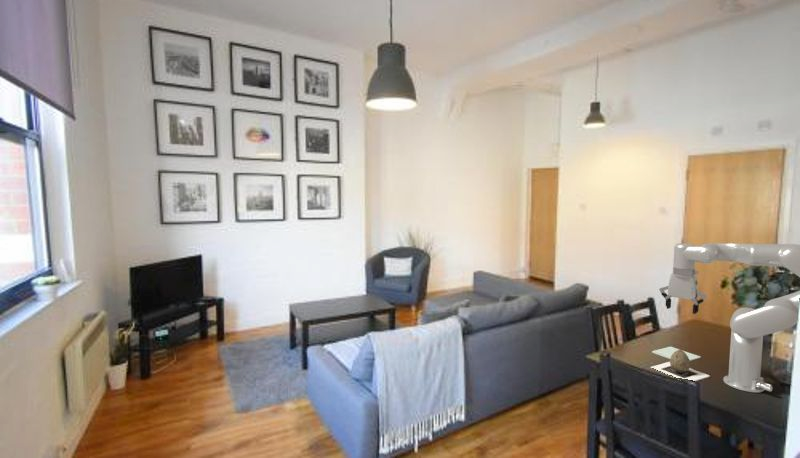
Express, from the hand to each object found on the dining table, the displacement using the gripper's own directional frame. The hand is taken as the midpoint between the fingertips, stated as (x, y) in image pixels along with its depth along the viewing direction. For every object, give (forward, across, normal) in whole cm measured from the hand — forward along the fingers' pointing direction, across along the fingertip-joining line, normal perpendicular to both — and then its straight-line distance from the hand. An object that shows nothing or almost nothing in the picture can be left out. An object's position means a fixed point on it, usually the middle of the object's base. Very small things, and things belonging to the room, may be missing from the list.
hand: (681, 310), depth 171 cm
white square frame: (+27, -1, +3) cm, 27 cm away
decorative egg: (+27, -1, +3) cm, 27 cm away
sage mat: (+27, +6, -16) cm, 32 cm away
